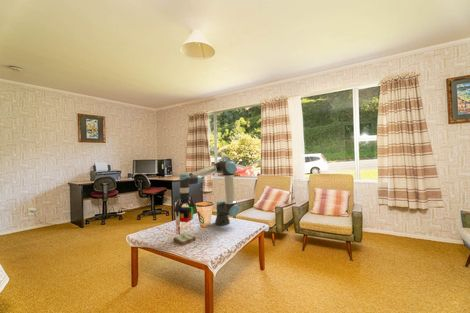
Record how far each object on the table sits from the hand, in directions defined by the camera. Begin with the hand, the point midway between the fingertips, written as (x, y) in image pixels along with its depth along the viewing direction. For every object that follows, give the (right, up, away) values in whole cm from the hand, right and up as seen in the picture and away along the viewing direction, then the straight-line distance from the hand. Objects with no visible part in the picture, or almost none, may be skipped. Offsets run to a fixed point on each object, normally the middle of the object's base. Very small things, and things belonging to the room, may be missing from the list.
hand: (184, 218), depth 180 cm
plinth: (0, -19, 0) cm, 19 cm away
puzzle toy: (0, -2, 0) cm, 2 cm away
